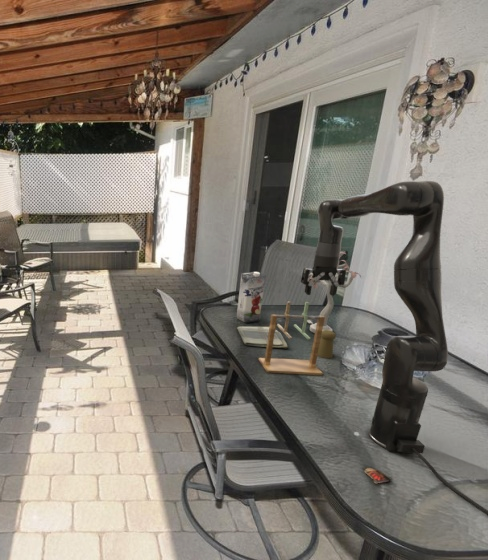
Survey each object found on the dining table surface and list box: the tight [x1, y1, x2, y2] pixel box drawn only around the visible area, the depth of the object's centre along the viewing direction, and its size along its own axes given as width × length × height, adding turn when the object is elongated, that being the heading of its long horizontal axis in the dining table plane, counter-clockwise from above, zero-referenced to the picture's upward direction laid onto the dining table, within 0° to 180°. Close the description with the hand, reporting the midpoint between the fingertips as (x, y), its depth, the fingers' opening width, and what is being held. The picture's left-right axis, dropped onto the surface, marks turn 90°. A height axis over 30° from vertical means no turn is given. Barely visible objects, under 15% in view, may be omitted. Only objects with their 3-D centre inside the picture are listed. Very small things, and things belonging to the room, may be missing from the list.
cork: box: [317, 330, 337, 359], centre depth 149 cm, size 6×6×11 cm
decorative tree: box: [303, 251, 362, 334], centre depth 168 cm, size 28×24×40 cm
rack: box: [258, 313, 325, 376], centre depth 139 cm, size 10×20×23 cm, turn 82°
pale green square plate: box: [236, 326, 289, 350], centre depth 166 cm, size 19×18×3 cm
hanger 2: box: [293, 301, 311, 341], centre depth 135 cm, size 12×1×13 cm, turn 172°
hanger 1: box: [276, 301, 293, 340], centre depth 136 cm, size 12×1×13 cm, turn 172°
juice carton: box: [236, 271, 267, 324], centre depth 184 cm, size 9×10×27 cm
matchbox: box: [363, 467, 392, 485], centre depth 91 cm, size 5×5×1 cm
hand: (319, 294), depth 136 cm, fingers open, 8 cm apart
